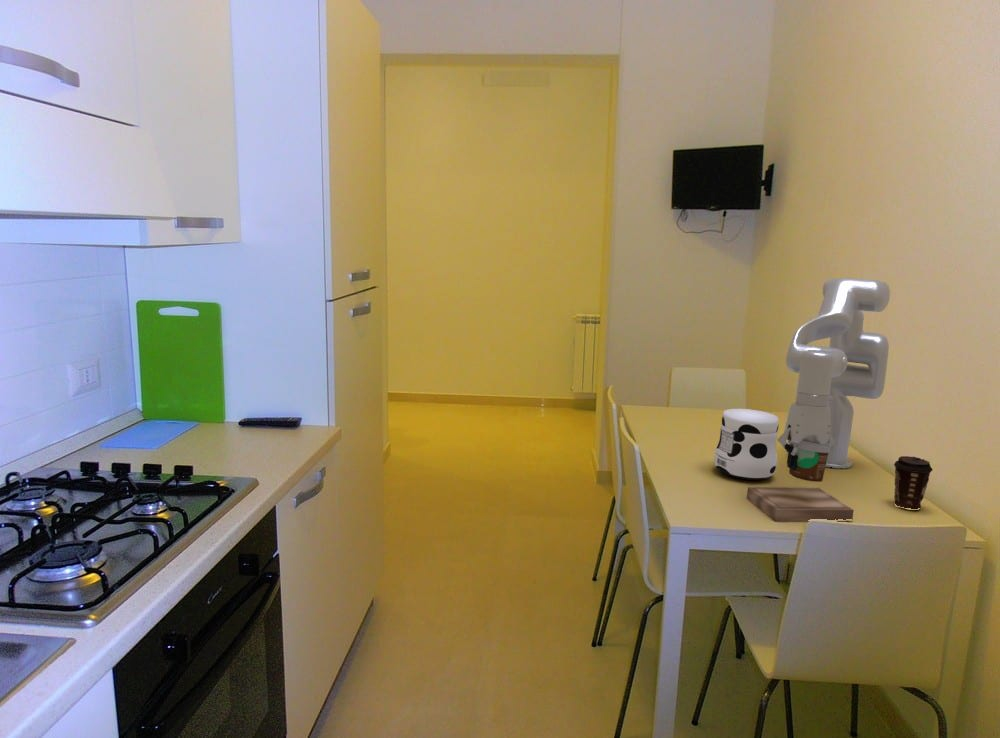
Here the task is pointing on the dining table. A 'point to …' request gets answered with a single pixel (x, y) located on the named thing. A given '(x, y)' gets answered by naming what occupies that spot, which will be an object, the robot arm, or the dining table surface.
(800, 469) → the food container
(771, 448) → the milk container
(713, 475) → the dining table surface
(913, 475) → the coffee cup
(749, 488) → the board
